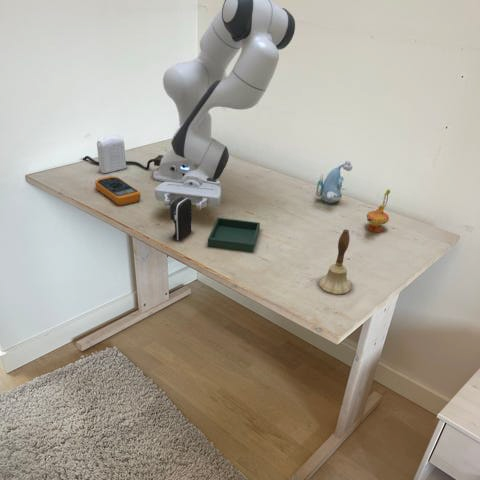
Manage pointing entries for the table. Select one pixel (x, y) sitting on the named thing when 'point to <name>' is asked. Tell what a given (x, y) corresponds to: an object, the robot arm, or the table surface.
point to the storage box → (234, 234)
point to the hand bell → (337, 270)
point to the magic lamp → (378, 217)
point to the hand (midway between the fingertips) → (182, 205)
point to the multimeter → (117, 190)
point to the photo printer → (111, 154)
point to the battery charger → (181, 217)
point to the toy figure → (332, 184)
